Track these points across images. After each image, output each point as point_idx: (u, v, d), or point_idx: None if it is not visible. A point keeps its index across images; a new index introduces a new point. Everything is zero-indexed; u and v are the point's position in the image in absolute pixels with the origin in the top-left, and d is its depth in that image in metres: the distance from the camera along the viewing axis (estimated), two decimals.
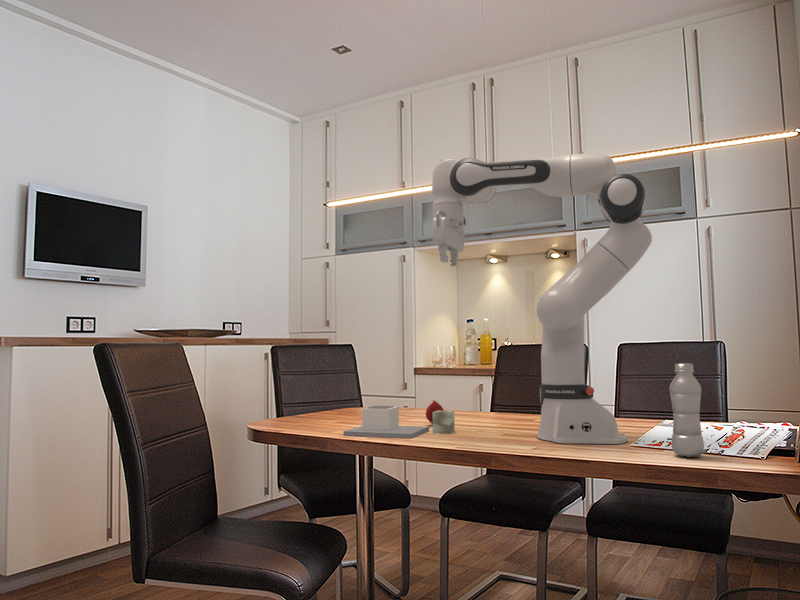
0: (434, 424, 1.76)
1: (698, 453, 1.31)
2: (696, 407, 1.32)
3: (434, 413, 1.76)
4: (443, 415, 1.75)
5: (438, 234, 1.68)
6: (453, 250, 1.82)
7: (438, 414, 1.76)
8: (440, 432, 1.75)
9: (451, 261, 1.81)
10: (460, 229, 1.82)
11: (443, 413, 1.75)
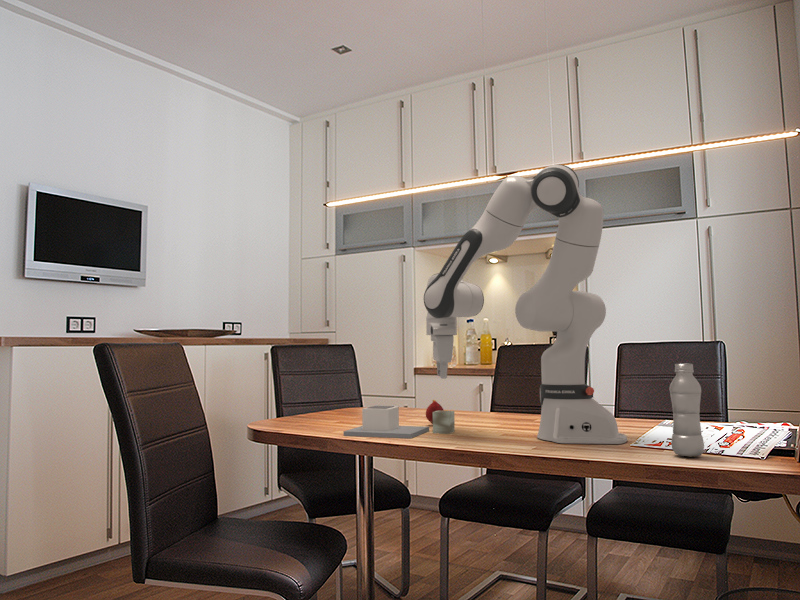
0: (434, 424, 1.76)
1: (698, 453, 1.31)
2: (696, 407, 1.32)
3: (434, 413, 1.76)
4: (443, 415, 1.75)
5: None
6: None
7: (438, 414, 1.76)
8: (440, 432, 1.75)
9: None
10: (435, 340, 1.74)
11: (443, 413, 1.75)
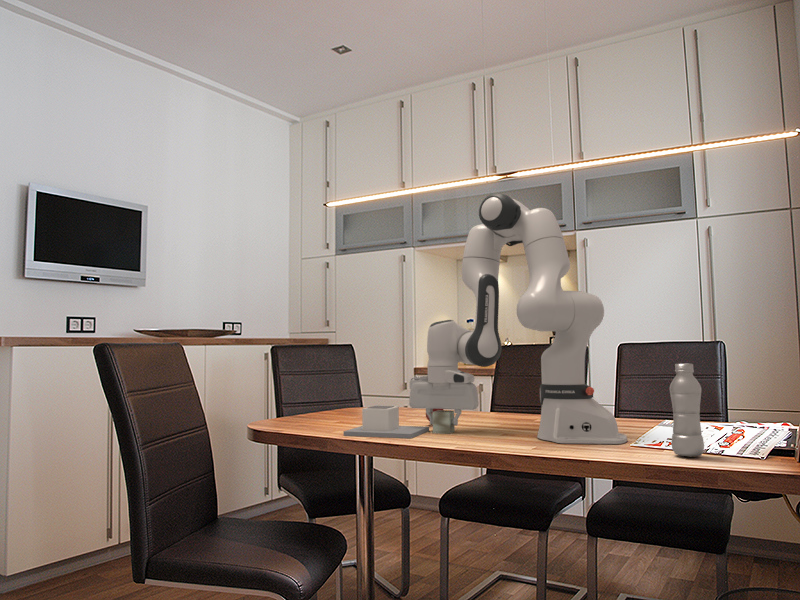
0: (434, 424, 1.76)
1: (698, 453, 1.31)
2: (696, 407, 1.32)
3: (434, 413, 1.76)
4: (443, 415, 1.75)
5: None
6: None
7: (438, 414, 1.76)
8: (440, 432, 1.75)
9: None
10: (457, 387, 1.74)
11: (443, 413, 1.75)
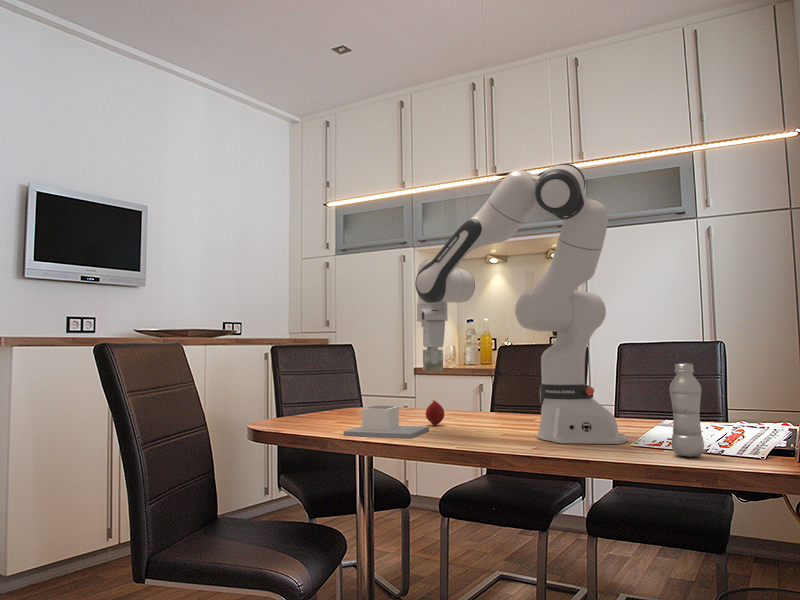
0: (423, 361, 1.81)
1: (698, 453, 1.31)
2: (696, 407, 1.32)
3: (423, 351, 1.81)
4: (424, 352, 1.78)
5: None
6: None
7: (423, 351, 1.79)
8: (424, 369, 1.79)
9: None
10: (426, 325, 1.74)
11: (424, 350, 1.78)
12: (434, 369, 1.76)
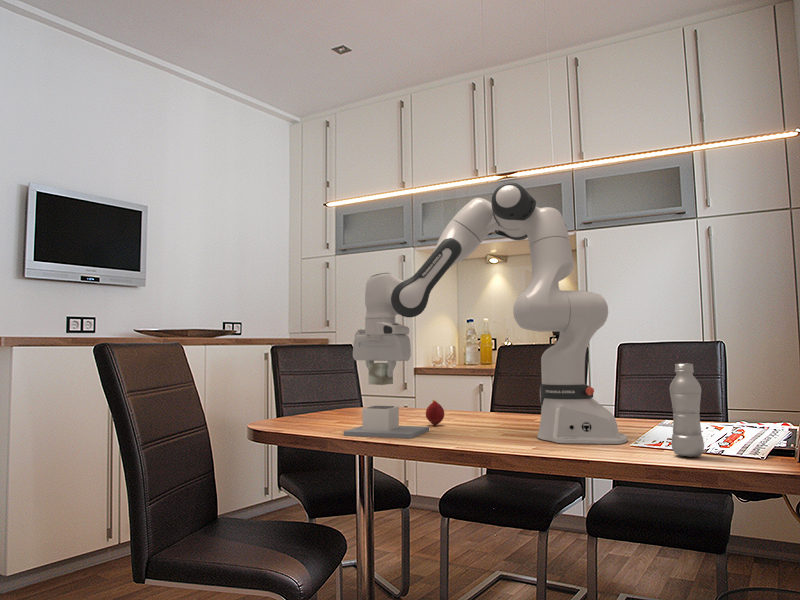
0: (369, 375, 1.79)
1: (698, 453, 1.31)
2: (696, 407, 1.32)
3: (370, 364, 1.79)
4: (376, 366, 1.77)
5: None
6: None
7: (373, 365, 1.78)
8: (374, 383, 1.78)
9: None
10: (388, 339, 1.75)
11: (376, 364, 1.77)
12: (387, 382, 1.78)
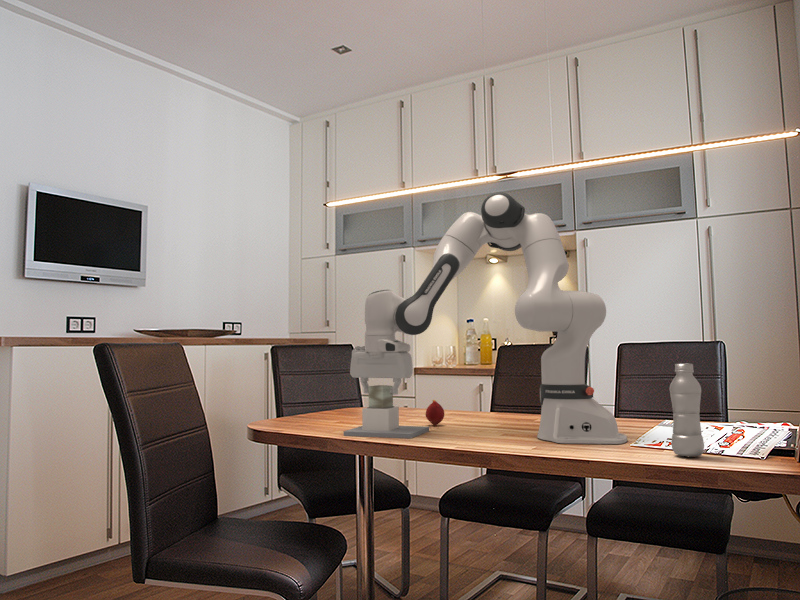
0: (370, 398, 1.78)
1: (698, 453, 1.31)
2: (696, 407, 1.32)
3: (370, 387, 1.78)
4: (377, 389, 1.76)
5: None
6: None
7: (373, 388, 1.77)
8: (375, 406, 1.76)
9: None
10: (389, 356, 1.75)
11: (377, 387, 1.76)
12: (388, 405, 1.77)
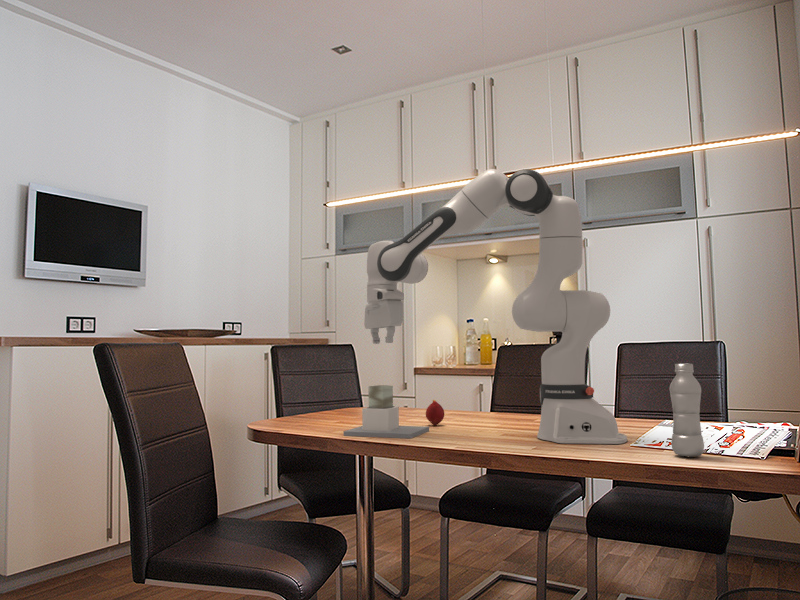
0: (370, 398, 1.78)
1: (698, 453, 1.31)
2: (696, 407, 1.32)
3: (370, 387, 1.78)
4: (377, 389, 1.76)
5: None
6: None
7: (373, 388, 1.77)
8: (375, 406, 1.76)
9: None
10: (382, 305, 1.76)
11: (377, 387, 1.76)
12: (388, 405, 1.77)
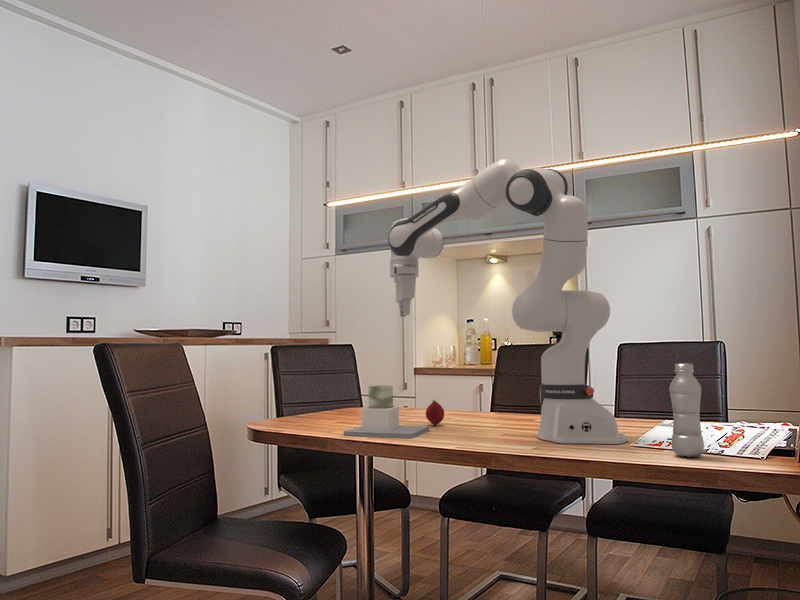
0: (370, 398, 1.78)
1: (698, 453, 1.31)
2: (696, 407, 1.32)
3: (370, 387, 1.78)
4: (377, 389, 1.76)
5: None
6: None
7: (373, 388, 1.77)
8: (375, 406, 1.76)
9: None
10: (398, 279, 1.87)
11: (377, 387, 1.76)
12: (388, 405, 1.77)
